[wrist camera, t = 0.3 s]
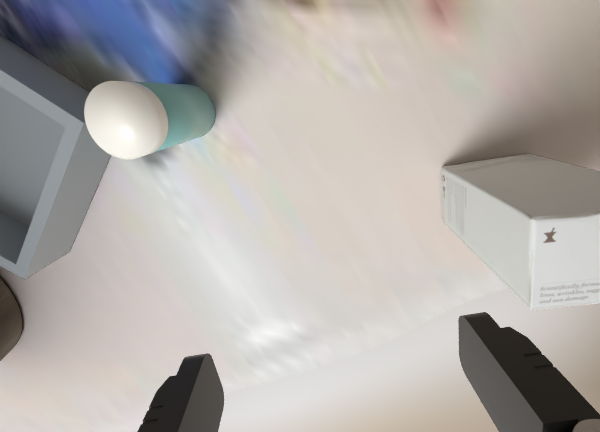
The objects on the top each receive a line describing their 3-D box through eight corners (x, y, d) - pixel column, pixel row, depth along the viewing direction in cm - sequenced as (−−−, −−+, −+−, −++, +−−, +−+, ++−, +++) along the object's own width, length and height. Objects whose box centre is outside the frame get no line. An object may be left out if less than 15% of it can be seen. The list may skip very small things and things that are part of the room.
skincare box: (441, 221, 33) (519, 317, 19) (439, 161, 31) (526, 219, 17) (533, 211, 31) (690, 305, 18) (538, 148, 29) (719, 198, 16)
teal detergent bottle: (179, 73, 30) (99, 64, 20) (224, 104, 31) (169, 110, 20) (157, 118, 32) (74, 131, 22) (201, 147, 32) (139, 173, 22)
